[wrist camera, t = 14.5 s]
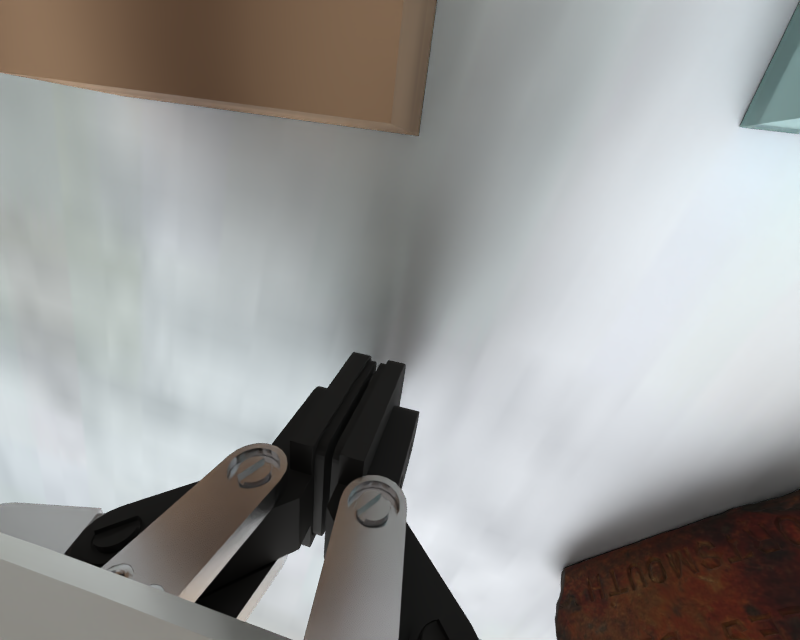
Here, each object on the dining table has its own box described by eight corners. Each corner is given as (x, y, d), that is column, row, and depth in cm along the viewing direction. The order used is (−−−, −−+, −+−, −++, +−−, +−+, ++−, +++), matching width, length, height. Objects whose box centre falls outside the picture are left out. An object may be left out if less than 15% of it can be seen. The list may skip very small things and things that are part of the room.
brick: (858, 452, 10) (1127, 660, 6) (930, 537, 10) (1223, 784, 6) (543, 564, 15) (566, 725, 10) (604, 620, 15) (648, 794, 11)
